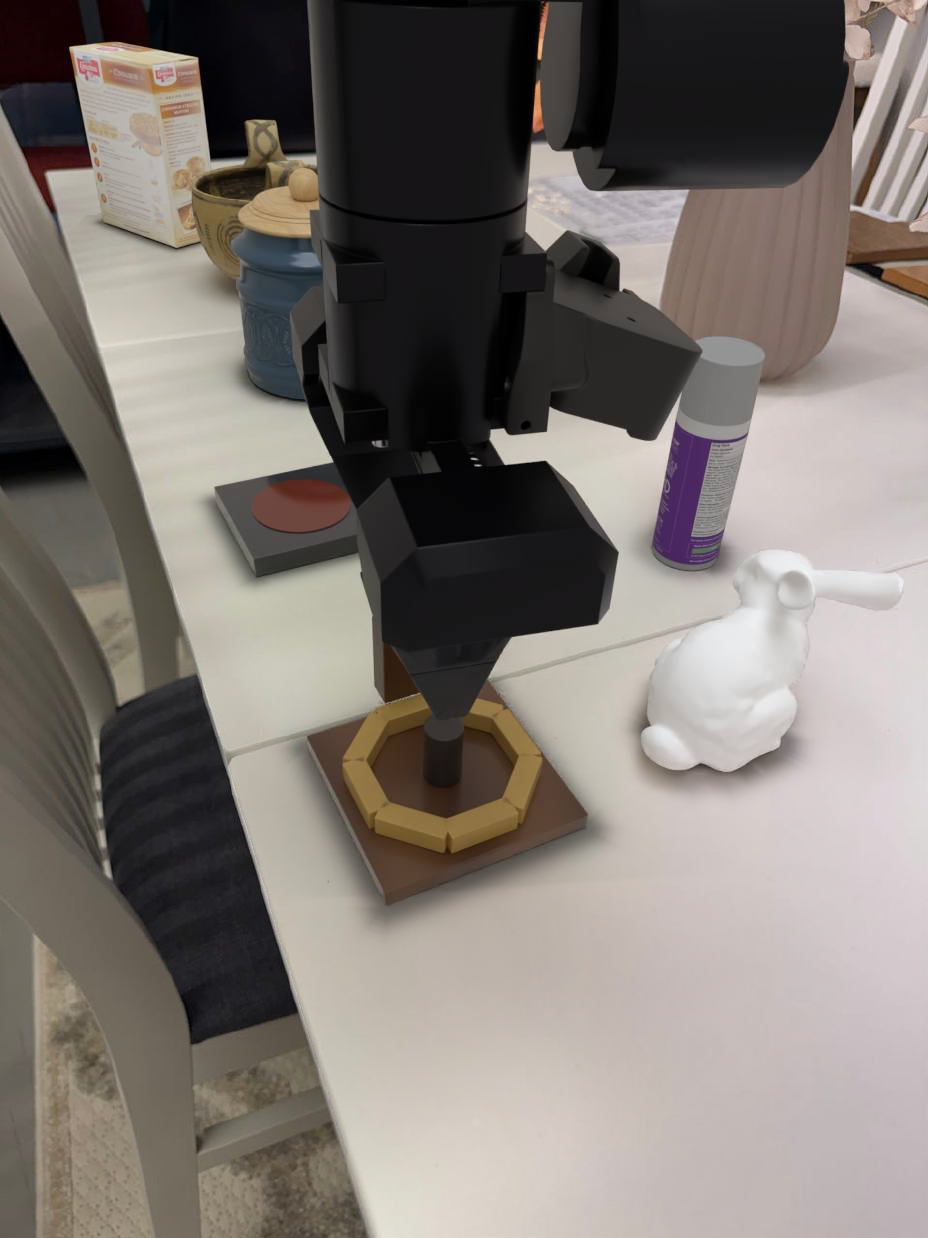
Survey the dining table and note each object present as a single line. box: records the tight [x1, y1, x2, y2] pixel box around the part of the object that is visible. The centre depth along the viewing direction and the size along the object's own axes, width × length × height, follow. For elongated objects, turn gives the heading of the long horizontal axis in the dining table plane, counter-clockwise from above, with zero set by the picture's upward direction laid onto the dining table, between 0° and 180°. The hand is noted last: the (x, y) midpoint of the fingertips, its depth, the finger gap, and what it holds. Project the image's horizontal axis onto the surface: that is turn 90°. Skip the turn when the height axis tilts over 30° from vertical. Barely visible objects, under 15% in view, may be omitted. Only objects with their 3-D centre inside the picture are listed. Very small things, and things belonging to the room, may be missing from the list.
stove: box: [213, 461, 359, 578], centre depth 68 cm, size 10×10×2 cm
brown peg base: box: [306, 679, 589, 906], centre depth 48 cm, size 11×11×4 cm
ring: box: [342, 615, 542, 853], centre depth 48 cm, size 10×11×6 cm
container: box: [651, 335, 766, 572], centre depth 63 cm, size 5×5×15 cm
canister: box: [231, 168, 324, 400], centre depth 83 cm, size 13×13×18 cm
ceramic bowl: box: [191, 119, 317, 282], centre depth 101 cm, size 22×17×15 cm
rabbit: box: [640, 549, 905, 773], centre depth 49 cm, size 12×9×12 cm
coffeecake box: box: [69, 41, 213, 249], centre depth 113 cm, size 15×7×20 cm, turn 51°
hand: (420, 631), depth 36 cm, fingers open, 9 cm apart
